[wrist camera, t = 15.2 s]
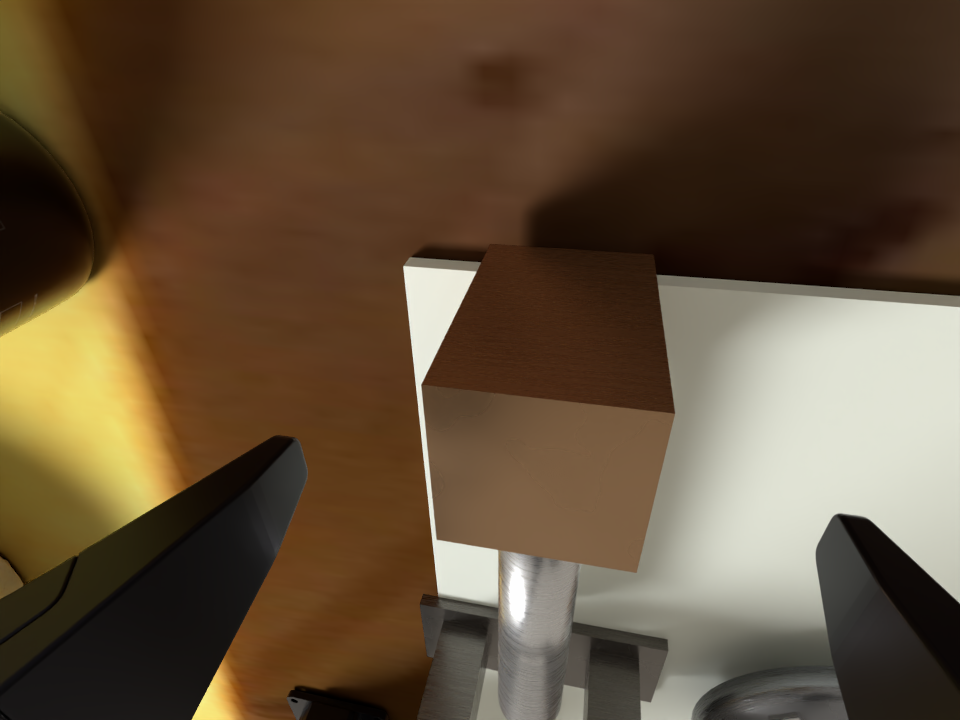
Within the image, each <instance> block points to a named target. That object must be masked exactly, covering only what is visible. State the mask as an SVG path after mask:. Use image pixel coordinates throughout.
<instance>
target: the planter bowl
mask: <svg viewBox="0 0 960 720" xmlns="http://www.w3.org/2000/svg"><path fill="white" fill-rule="evenodd" d="M22 586H24V585H23V583H22V581H21V579H20V578H19V576H18V575H17V574H16V572H15V571H14V570H13V568H12V567H11V566H10V565H9V562H8V561H7V560H5V559H2V558H1V557H0V599H1V598H3V597H5V596H6V595H8V594H10V593H12V592H14V591H15V590H17V589H19V588H21V587H22Z"/></svg>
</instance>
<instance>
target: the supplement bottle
mask: <svg viewBox="0 0 960 720" xmlns="http://www.w3.org/2000/svg"><path fill="white" fill-rule="evenodd" d="M93 261H94V240H93V233H92V229H91V225H90V221H89V218H88V215H87V213H86V210H85V207H84V205H83V203H82V201H81V199H80V197H79V195H78V193H77V191H76V189H75V188H74V186H73V184H72V183H71V181H70V180H69V178H68V176H67V175H66V174H65V172H64V171H63V169H62V168H61V167H60V165H59V164H58V163H57V162H56V160H55V159H54V158H53V157H52V156H51V155H50V153H49V152H48V151H47V150H46V149H45V148H44V147H43V146H42V145H41V144H40V143H39V142H38V141H37V140H36V139H35V138H34V137H33V136H32V135H31V134H30V133H28V132H27V131H26V130H25V129H24V128H23V127H21V126H20V125H19V124H17V123H16V122H15V121H14V120H12V119H11V118H9V117H8V116H6V115H5V114H4V113H2V112H0V337H1V336H3V335H5V334H7V333H9V332H11V331H12V330H14V329H16V328H18V327H20V326H21V325H23V324H25V323H27V322H29V321H31V320H32V319H34V318H36V317H38V316H40V315H41V314H43V313H45V312H47V311H48V310H50V309H52V308H53V307H55V306H57V305H59V304H61V303H62V302H64V301H66V300H67V299H69V298H70V297H72V296H73V295H75V294H76V293H77V292H78V291H79V290H80V289H81V288H82V287H83V286H84V284H85V283H86V281H87V279H88V277H89V275H90V272H91V270H92V266H93Z"/></svg>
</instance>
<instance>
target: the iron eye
mask: <svg viewBox="0 0 960 720" xmlns="http://www.w3.org/2000/svg"><path fill="white" fill-rule="evenodd" d="M420 609H421V616H422V623H423V630H424V637H425V644H426V651H427V656H428V657H432V658H433V661H432V665H431V669H430V672H429V676H428V680H427V683H426V687H425V690H424V694H423V698H422V701H421V705H420V709H419V712H418V716H417V720H476V719H477V714H478V709H479V704H480V699H481V693H482V688H483V683H484V678H485V672H486V669H491V670H495V671H498V608H496V607H490V606H485V605H480V604H474V603H469V602H463V601H458V600H453V599H447V598H442V597H437V596H431V595H426V594H423V596H422V599H421V603H420ZM667 654H668V639H663V638H658V637H652V636H647V635H642V634H636V633H631V632H625V631H620V630H615V629H609V628H604V627H598V626H593V625H588V624H582V623H577V622H573V625H572V632H571V639H570V646H569V653H568V660H567V667H566V674H565V681H564V685H568V686H573V687H578V688H583V689H584V708H583V720H641V704H640V700H641V701H646V702H650V703H651V701H652V698H653V695H654V692H655V689H656V686H657V683H658V680H659V677H660V675H661V672H662V669H663V666H664V663H665V660H666V657H667Z"/></svg>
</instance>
